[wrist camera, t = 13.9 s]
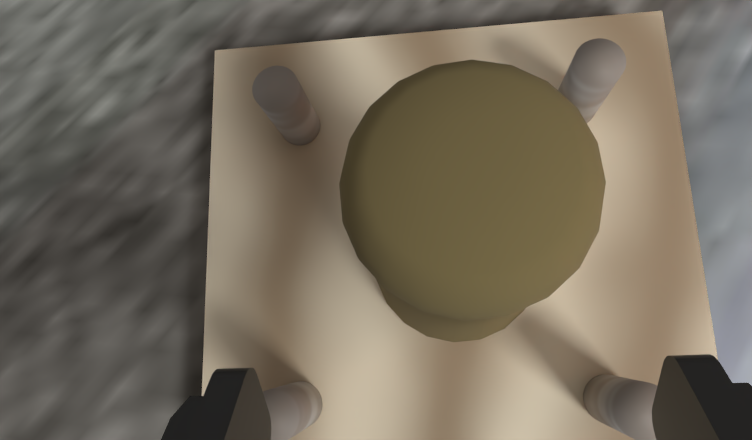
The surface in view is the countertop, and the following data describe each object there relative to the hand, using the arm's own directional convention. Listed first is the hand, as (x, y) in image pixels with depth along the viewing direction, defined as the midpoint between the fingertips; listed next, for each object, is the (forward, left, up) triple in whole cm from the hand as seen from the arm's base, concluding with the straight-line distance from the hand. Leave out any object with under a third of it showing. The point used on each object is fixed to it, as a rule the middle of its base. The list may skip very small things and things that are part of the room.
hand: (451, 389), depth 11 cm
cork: (+1, +4, -9) cm, 10 cm away
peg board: (0, +4, -11) cm, 11 cm away
